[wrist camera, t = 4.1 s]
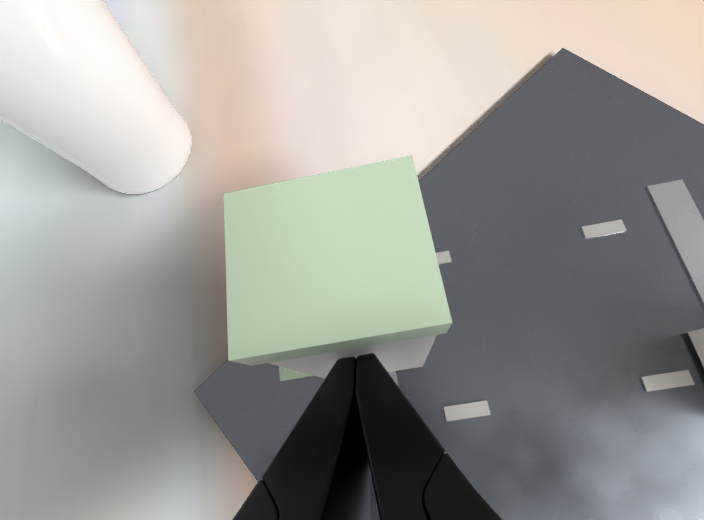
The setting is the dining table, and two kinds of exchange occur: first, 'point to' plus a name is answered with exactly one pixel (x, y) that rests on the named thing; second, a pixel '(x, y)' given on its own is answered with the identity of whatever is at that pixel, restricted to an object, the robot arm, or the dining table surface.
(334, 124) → the dining table surface
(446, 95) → the dining table surface
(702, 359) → the terracotta slider
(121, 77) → the white rounded cylinder
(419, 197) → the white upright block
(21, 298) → the dining table surface
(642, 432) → the switch panel
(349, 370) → the robot arm
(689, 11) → the dining table surface
